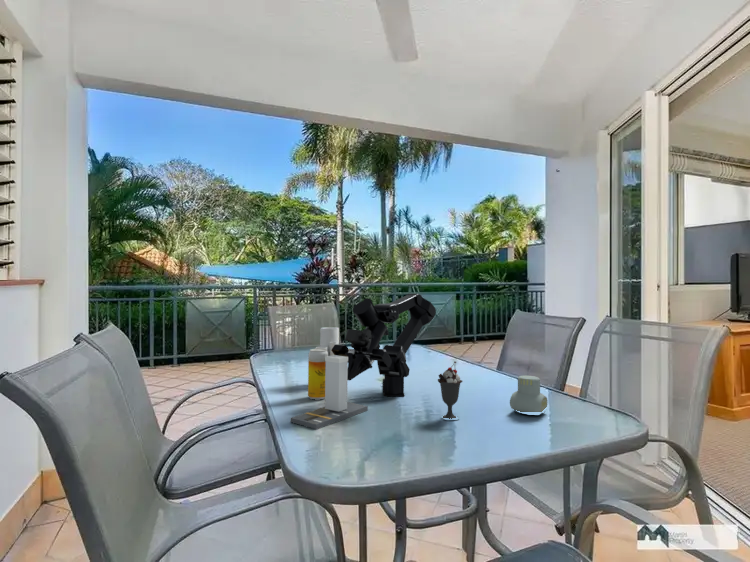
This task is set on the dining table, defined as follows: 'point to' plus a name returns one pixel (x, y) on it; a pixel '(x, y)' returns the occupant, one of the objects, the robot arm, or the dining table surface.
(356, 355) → the robot arm
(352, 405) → the console
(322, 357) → the beer can
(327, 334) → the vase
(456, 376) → the sundae
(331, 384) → the fader tab
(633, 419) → the dining table surface
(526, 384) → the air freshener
